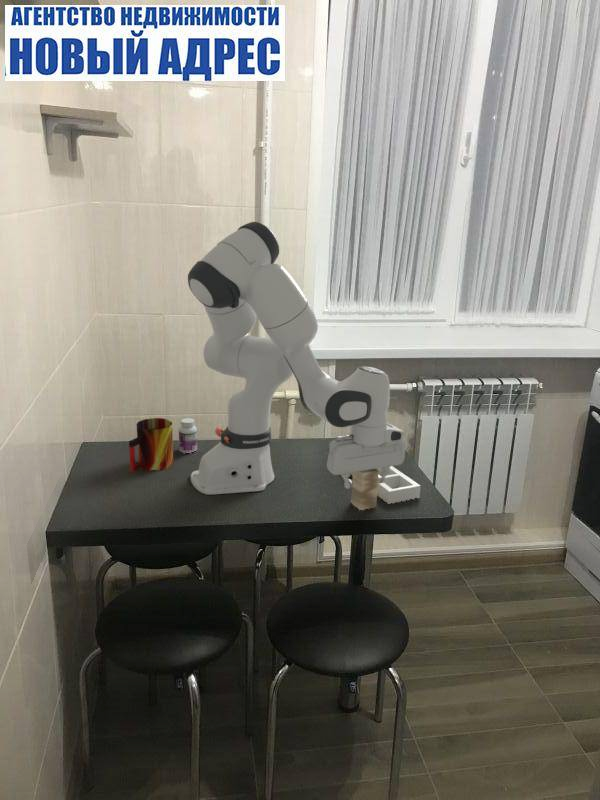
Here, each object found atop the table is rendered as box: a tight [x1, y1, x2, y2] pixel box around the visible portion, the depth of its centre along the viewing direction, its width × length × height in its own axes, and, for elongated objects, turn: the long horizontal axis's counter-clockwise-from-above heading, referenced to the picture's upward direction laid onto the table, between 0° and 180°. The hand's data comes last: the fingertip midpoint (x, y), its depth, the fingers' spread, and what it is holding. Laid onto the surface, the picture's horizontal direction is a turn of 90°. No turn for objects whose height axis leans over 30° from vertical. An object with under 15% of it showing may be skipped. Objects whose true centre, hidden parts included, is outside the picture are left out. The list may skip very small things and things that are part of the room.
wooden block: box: [350, 469, 379, 511], centre depth 159 cm, size 5×5×10 cm
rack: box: [350, 466, 421, 505], centre depth 173 cm, size 10×24×4 cm, turn 25°
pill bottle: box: [178, 417, 198, 454], centre depth 189 cm, size 5×5×10 cm
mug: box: [128, 417, 174, 473], centre depth 177 cm, size 10×14×12 cm
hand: (364, 485), depth 159 cm, fingers open, 8 cm apart
